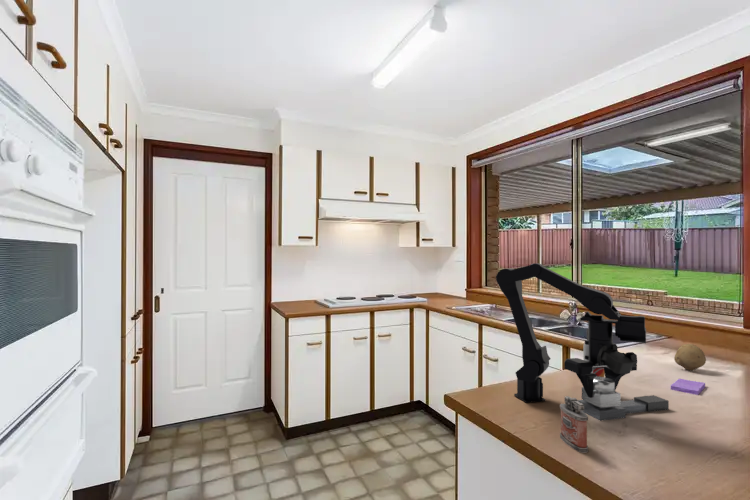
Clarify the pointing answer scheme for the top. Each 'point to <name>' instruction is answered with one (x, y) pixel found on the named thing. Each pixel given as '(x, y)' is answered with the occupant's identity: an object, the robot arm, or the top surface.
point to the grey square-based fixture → (603, 393)
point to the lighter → (574, 424)
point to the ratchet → (626, 407)
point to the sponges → (688, 386)
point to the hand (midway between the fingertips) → (600, 396)
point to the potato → (690, 357)
